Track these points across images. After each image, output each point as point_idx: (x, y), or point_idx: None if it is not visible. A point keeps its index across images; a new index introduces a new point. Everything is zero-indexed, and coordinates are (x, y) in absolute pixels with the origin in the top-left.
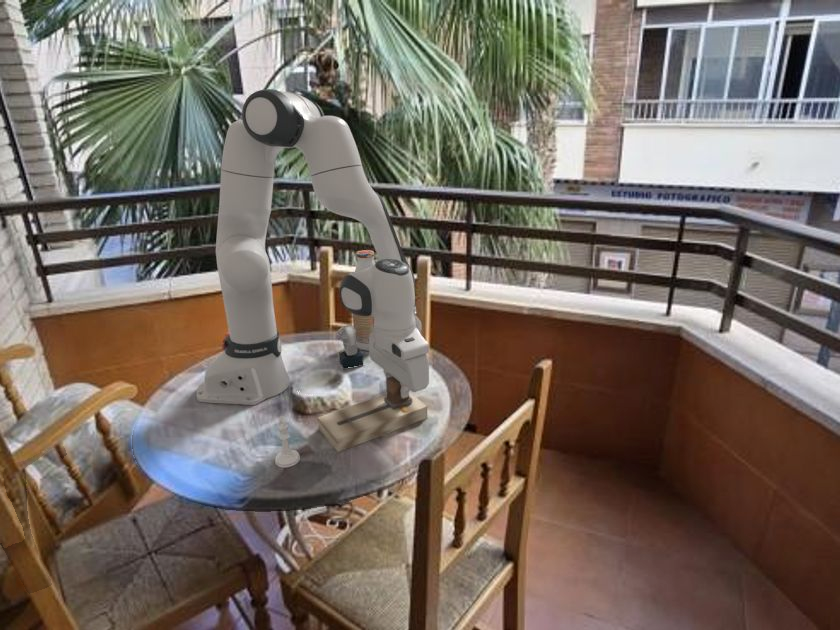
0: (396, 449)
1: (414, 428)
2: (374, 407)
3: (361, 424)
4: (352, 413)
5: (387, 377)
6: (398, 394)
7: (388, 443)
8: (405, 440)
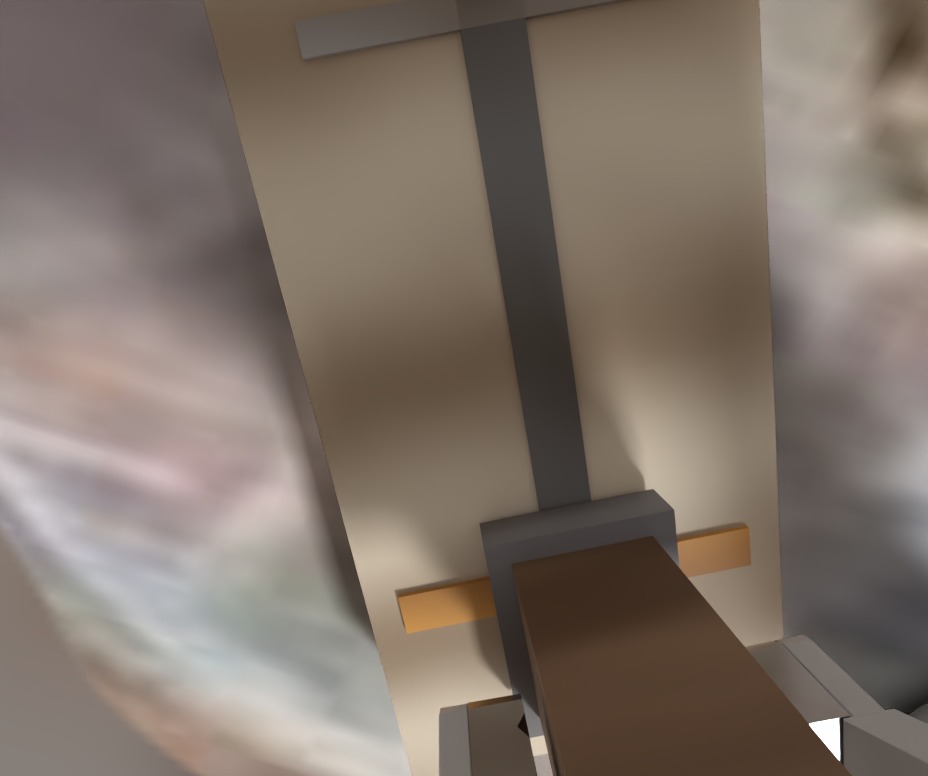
0: (103, 371)
1: (326, 572)
2: (608, 369)
3: (351, 134)
4: (608, 103)
5: (914, 762)
6: (540, 691)
7: (201, 340)
8: (199, 469)
